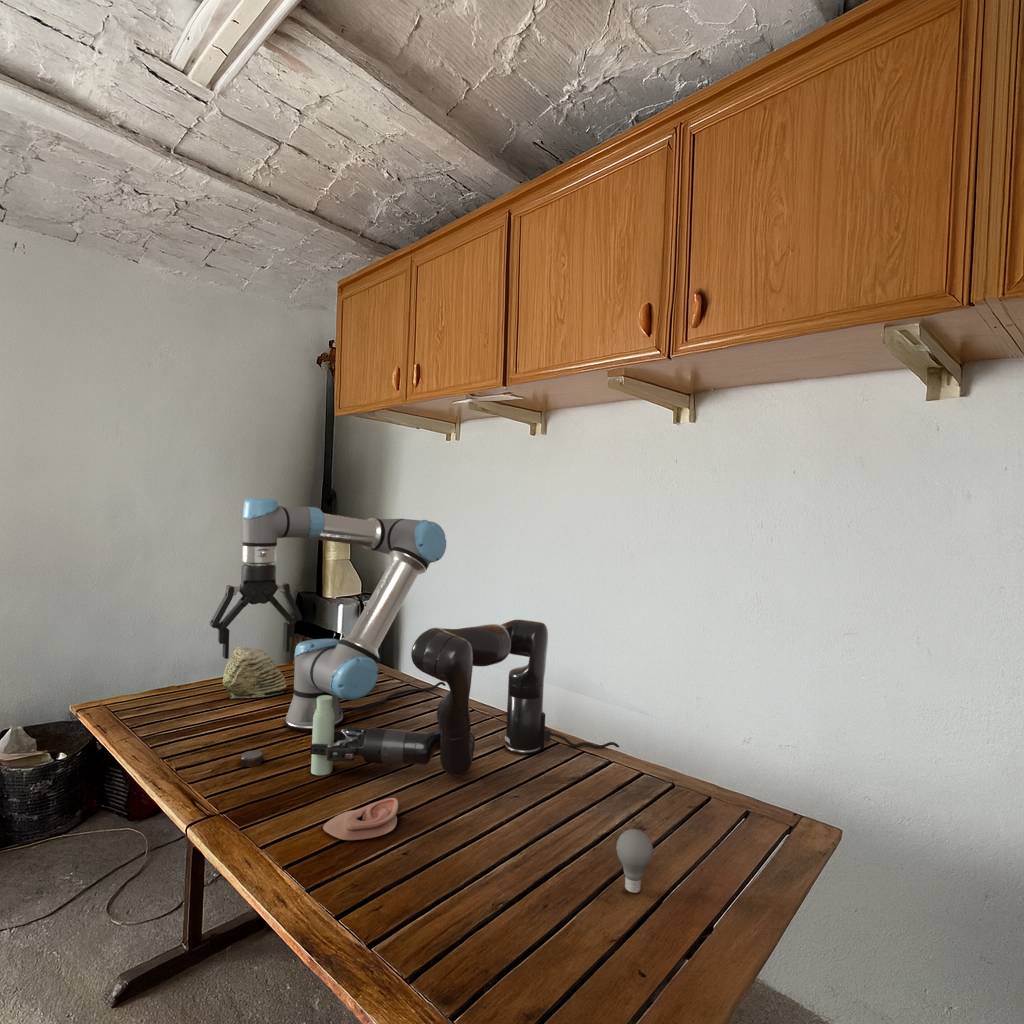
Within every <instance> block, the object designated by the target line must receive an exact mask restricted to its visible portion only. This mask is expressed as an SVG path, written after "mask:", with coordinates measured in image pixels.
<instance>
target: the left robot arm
mask: <svg viewBox="0 0 1024 1024" xmlns="http://www.w3.org/2000/svg"><path fill="white" fill-rule="evenodd" d="M241 516H242V545H241V546H242V547H241V562H242V563H244V564H242V565H241V579H240V580H241V581H240V585H239V586H238V585H237V586H235V585H234V586H233V585H231V584H228V585H226V587H225V593H224V596H223V597H222V599H221V601H220V603H219V605H218V606H217V608H216V610H215V612H214V614H213V615H212V618H211V619H210V621H209V626H210V627H211V628H213V629H217V641H218V643H219V645H222V654H221V655H222V657H223V659H224V660H229V659H230V656H229V655H230V629H229V628H228V627H229V626H230V624H231V623H233V621H234V620H235V619H236V617H238V615H239V614H240V613H241V612H242V611H243V609H244V608H245V607H247V606H248V605H249V604H251V605H258V604H261V605H262V604H263V605H264V604H265V605H266V604H267V603H268V602H269V603H270V604H271V606H273V607H274V609H275V610H276V611H277V612H278V613H279V614H280V615H281V617H283V618H284V620H285V621H286V622H283V633H282V640H283V641H282V650H283V651H284V652H285V653H290V649H291V648H290V647H291V646H290V645H291V638H293V637H294V636H295V625H296V623H297V622H300V621H302V620H303V615H302V614H301V612H300V610H299V607H298V605H297V604H296V601H295V599H294V597H293V595H292V593H291V586H290V583H288V582H282V583H278V584H277V565H276V564H275V563H276V562H277V553H278V552H277V549H278V548H277V546H278V539H283V538H284V539H285V538H286V539H287V538H289V539H291V538H293V539H295V538H299V539H300V538H301V539H309V540H316V541H324V542H331V543H339V544H346V545H347V544H348V545H353V546H362V547H363V548H364V549H365V550H368V551H372V552H373V551H374V552H379V553H382V554H385V555H389V556H390V557H389V558H390V562H389V564H388V566H387V568H386V569H385V571H384V573H383V574H382V577H381V578H380V581H379V582H378V584H377V585H376V587H375V589H374V591H373V592H372V594H371V596H370V598H369V599H368V601H367V603H366V604H365V607H364V608H363V610H362V612H361V613H360V615H359V617H358V619H357V621H356V623H355V624H354V626H353V627H352V630H350V634H349V635H347V636H344V637H341V638H340V639H337V638H318V639H308V640H304V641H300V642H299V643H297V644H296V646H295V650H294V655H293V657H294V672H293V673H294V674H293V695H292V696H293V697H292V699H291V702H290V704H289V708H288V711H287V713H286V715H285V726H286V728H287V729H289V730H291V731H294V732H295V731H296V732H301V733H312V732H313V716H314V713H315V711H316V708H317V697H319V696H323V695H329V696H332V699H333V700H332V708H333V712H334V716H335V723H334V729H335V728H337V727H339V726H340V725H342V723H343V722H344V714H343V711H344V712H345V711H357V710H364V709H369V708H373V707H377V706H380V705H382V704H384V703H385V702H387V700H389V699H390V698H391V699H392V698H393V697H395V696H399V695H403V694H409V693H415V692H424V691H432V690H434V689H436V688H438V687H439V686H441V685H442V686H445V687H446V686H447V683H446V682H444V681H438V682H437V683H436V684H434V685H433V686H430V687H422V688H421V687H420V688H411V689H406V690H400V691H397V692H394V693H391V694H389V695H387V696H386V697H384V698H383V699H382V700H380V701H377V702H374V703H371V704H366V705H360V706H350V707H349V706H348V707H347V706H346V707H342V706H341V702H340V700H347V701H358V700H360V699H363V698H364V697H366V696H368V694H370V693H371V692H372V690H373V689H374V688H375V687H376V684H377V682H378V679H379V673H378V672H379V666H378V664H377V663H378V662H379V660H380V654H379V648H380V646H381V644H382V643H383V640H384V639H385V637H386V635H387V633H388V631H389V629H390V628H391V625H392V624H393V622H394V620H395V618H396V616H397V614H398V612H399V611H400V609H401V607H402V605H403V603H404V601H405V600H406V598H407V596H408V594H409V592H410V591H411V588H412V586H413V585H414V583H415V581H416V579H417V578H418V576H419V575H421V574H424V573H426V572H427V570H428V568H429V567H430V564H431V563H437V562H438V561H441V559H442V558H443V556H444V555H445V553H446V551H447V539H446V533H445V530H444V529H443V528H442V526H441V525H440V524H439V523H437V522H434V521H430V520H428V519H422V520H420V519H409V518H376V517H370V518H367V519H361V518H355V517H349V516H344V515H338V514H331V513H325V512H323V511H322V509H320V508H319V507H316V506H315V507H314V506H313V507H312V506H293V505H292V506H291V505H279V500H278V499H277V498H273V497H271V498H270V497H269V498H268V497H248V498H246V499H245V500H244V502H243V510H242V515H241ZM278 590H279V592H280V593H281V594H282V595H283V597H284V599H285V602H286V604H287V605H288V607H289V609H290V611H291V613H292V615H293V616H292V615H291V614H290V613H289V612H288V611H287V609H285V607H284V606H282V604H281V603H280V602H279V601H278V599H277V598H276V597H275V596H274V595H275V594H276V593H277V591H278ZM238 592H239V594H241V597H240V598H239V599H238V601H237V603H236V604H235V605H234V606H233V607H232V608H231V609H230V610H229V611H228V613H227V614H226V615H225V616H224V614H225V613H226V611H227V610H228V607H229V606H230V604H231V602H232V600H233V598H234V596H236V595H237V593H238ZM223 616H224V617H223ZM222 618H223V619H222Z"/></svg>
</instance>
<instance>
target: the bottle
mask: <svg viewBox="0 0 1024 1024" xmlns="http://www.w3.org/2000/svg"><path fill="white" fill-rule="evenodd" d="M332 700H333V699H332V696H329V695H323V696H319V697H317V708H316V711H315V713H314V716H313V732H311V734H312V735H311V736H312V737H311V745H312V744H313V743H315V744H328V745H330V744H335V741H334V730H335V728H334V723H335V716H334V712H333V708H332ZM310 762H311V763H310V764H311V765H310V773H311V774H312V775H315V776H326V775H327V776H328V775H329V774H331V773H332V772H333V770H334V761H327V755H315V754H311V761H310Z"/></svg>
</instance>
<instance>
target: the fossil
mask: <svg viewBox="0 0 1024 1024" xmlns="http://www.w3.org/2000/svg"><path fill="white" fill-rule="evenodd" d="M222 676H223V677H222V685H223V687H224V688H225V690H226V691H228V693H229V698H230V699H250V698H264V697H271V696H275V695H281V694H284V693H285V691H286V689H287V687H288V686H287V680H286V678H285V676H284V674H283V673H282V672H281V669H279V668H278V667H277V665H276V663H275V662H274V660H273V659H272V658H271V657H270V656H269V655H268V654H267V653H266V652H265V650H264V649H263V648H260V647H258V648H251V647H247V646H246V647H245V646H238V647H237V648H236V649H235V650H233V651H232V653H231V656H229V659H227V663H226V666H225V668H224V671H223V675H222Z"/></svg>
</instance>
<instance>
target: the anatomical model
mask: <svg viewBox="0 0 1024 1024" xmlns="http://www.w3.org/2000/svg"><path fill="white" fill-rule="evenodd" d="M398 809H399V801H398V799H397V798H396V797H389V798H388V797H387V798H383V799H381V800H378V801H375V802H372V803H369V804H367V805H365V806H363V807H360V808H357V809H353V810H352V809H351V810H348V811H344V812H341V813H340V814H337V815H336V816H333V818H330V819H329V820H328V821H327V822H325V823H324V824H323V826H322V830H323V831H324V832H325V833H326V834H329V835H330V836H332V837H334V838H337V839H339V840H342V841H358V840H359V841H360V840H366V839H373V838H377V837H380V836H383V835H386V834H388V833H390V832H392V831H393V830H394V829H395V828H396V826H397V824H398V817H397V813H398Z"/></svg>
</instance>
